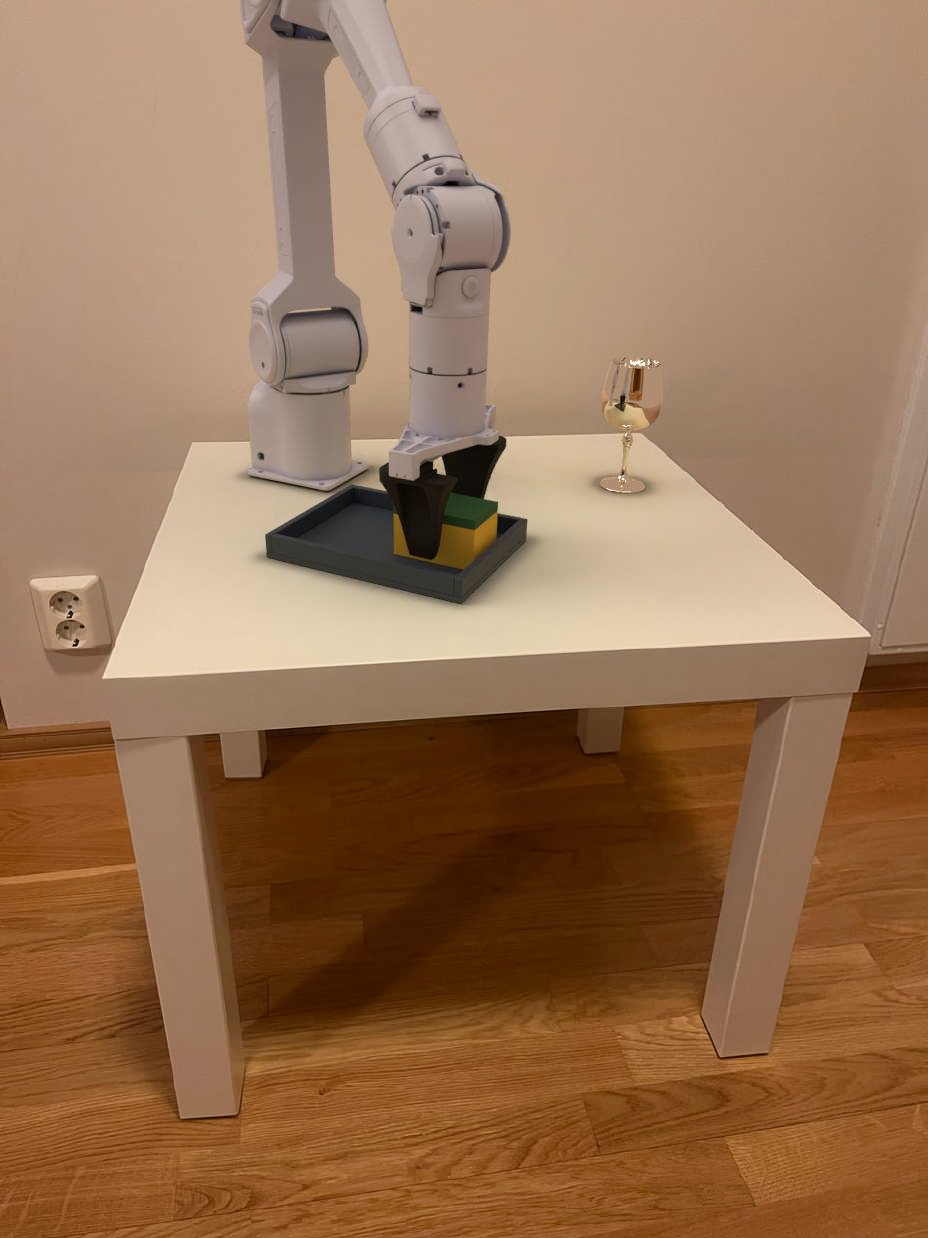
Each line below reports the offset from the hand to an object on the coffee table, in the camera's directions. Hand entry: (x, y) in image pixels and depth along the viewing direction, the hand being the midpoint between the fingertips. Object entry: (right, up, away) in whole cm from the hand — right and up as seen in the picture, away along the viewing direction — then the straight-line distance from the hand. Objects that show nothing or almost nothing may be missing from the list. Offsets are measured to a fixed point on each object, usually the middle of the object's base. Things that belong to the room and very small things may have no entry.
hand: (444, 538), depth 73 cm
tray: (-4, -1, +2) cm, 4 cm away
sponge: (0, -1, +1) cm, 1 cm away
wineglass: (+17, +7, +17) cm, 25 cm away
